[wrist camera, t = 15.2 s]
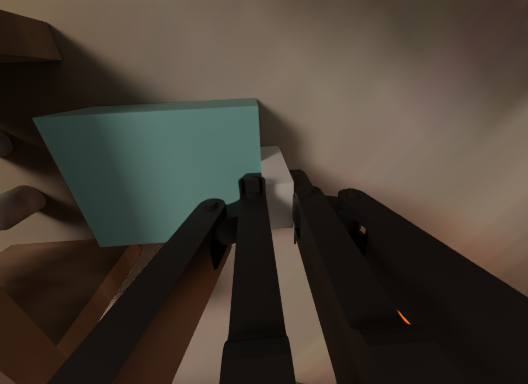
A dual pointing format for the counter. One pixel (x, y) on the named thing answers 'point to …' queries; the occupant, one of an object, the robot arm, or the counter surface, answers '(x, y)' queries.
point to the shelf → (47, 257)
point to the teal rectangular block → (152, 162)
